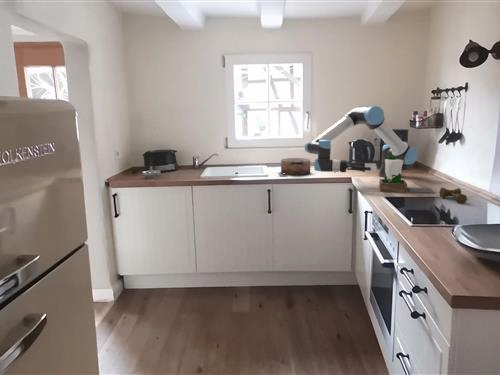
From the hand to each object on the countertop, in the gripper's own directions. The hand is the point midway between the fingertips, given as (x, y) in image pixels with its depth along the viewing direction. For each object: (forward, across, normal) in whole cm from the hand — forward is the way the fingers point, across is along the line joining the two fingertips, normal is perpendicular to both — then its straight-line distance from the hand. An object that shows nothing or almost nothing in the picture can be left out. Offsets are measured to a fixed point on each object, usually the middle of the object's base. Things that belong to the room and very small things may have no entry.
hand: (376, 167), depth 230 cm
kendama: (+39, +20, -14) cm, 46 cm away
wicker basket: (-56, -52, -14) cm, 78 cm away
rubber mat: (+25, 0, -13) cm, 29 cm away
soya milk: (+10, 0, -13) cm, 17 cm away
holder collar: (+10, 0, -13) cm, 17 cm away
